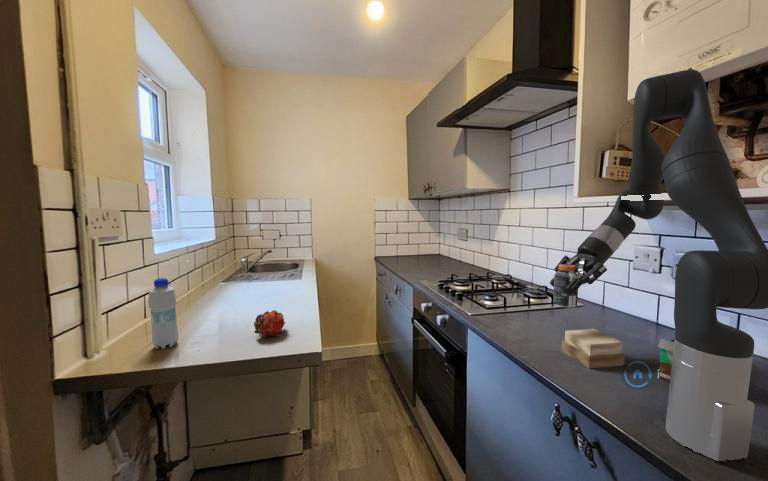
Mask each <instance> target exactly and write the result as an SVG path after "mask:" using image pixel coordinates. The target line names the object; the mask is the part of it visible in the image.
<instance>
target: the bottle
mask: <svg viewBox="0 0 768 481" xmlns="http://www.w3.org/2000/svg"><path fill="white" fill-rule="evenodd" d="M153 286H154V287H153V288H152V289H150V290H149V291H148V301H147V304H148V308H149V309H150V320H151V321H150V322H151V341H152V344H153V346H154V348H155V349H157V350H159V349H163V350H165V349H166V346H167V345H168V347H169V348H172V347H173V346H175V345H176V344H178V341H179V329H178V326H177V310H176V305H177V295H176V292H175V288H174V287H172V286H169V280H168V278H166V277H159V278H156V279H155V280H154V281H153Z"/></svg>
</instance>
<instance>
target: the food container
mask: <svg viewBox="0 0 768 481" xmlns="http://www.w3.org/2000/svg"><path fill="white" fill-rule="evenodd" d="M674 340H675V338H674V339H671V340H667V339H664V338H660V339H659V342H658V346H657V347H658V348H659V380H662V381H664V382H666V383H667V382H668V383H670V378H671V368H672V359H673V350H674Z"/></svg>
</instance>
